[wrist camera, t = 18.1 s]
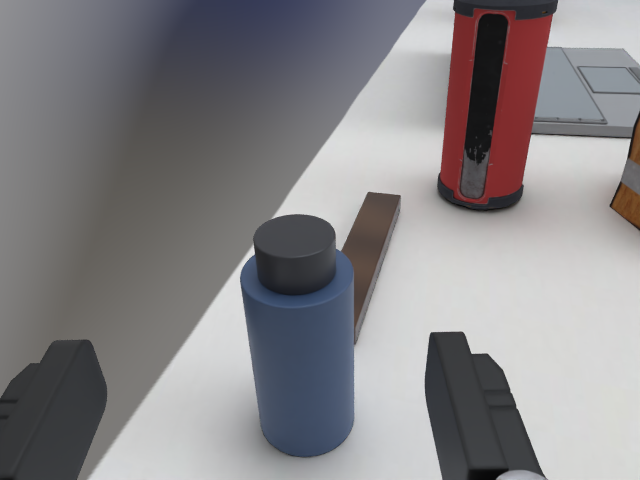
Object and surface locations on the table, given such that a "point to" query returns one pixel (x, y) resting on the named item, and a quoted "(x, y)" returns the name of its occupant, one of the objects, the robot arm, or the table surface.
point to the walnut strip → (369, 247)
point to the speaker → (492, 99)
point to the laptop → (588, 92)
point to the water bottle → (301, 334)
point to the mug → (630, 182)
